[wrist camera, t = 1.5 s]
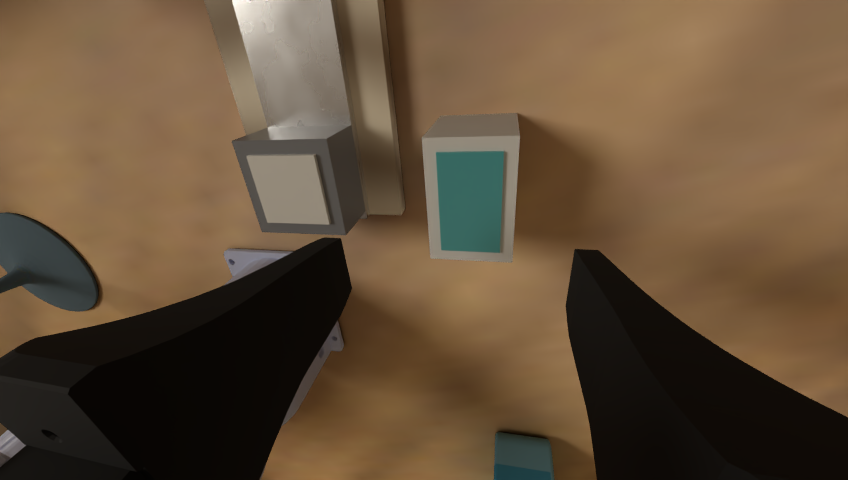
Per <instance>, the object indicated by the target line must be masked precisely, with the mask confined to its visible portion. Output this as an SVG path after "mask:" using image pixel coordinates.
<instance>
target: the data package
mask: <svg viewBox="0 0 848 480" xmlns="http://www.w3.org/2000/svg"><path fill="white" fill-rule="evenodd" d="M494 480H555V479H554V470H553V460H552V451H551V445H550V442H549V440H548V439H544V438H537V437H530V436H523V435H516V434H509V433H502V432H497V433H496V435H495V462H494Z"/></svg>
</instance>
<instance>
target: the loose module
mask: <svg viewBox="0 0 848 480" xmlns="http://www.w3.org/2000/svg"><path fill="white" fill-rule="evenodd" d="M519 144H520V131H519V124H518V116H517V113H501V114H474V115H447V116H440V117H439V118H438V119H437V121H436V122H435V123H434V124H433V125H432V126H431V128H430V129H429V130H428V131H427V132H426V134H425V135H424V136H423V137H422V148H423V162H424V176H425V190H426V203H427V217H428V231H429V245H430V258H432V259H452V260H472V261H492V262H512V258H513V242H514V226H515V209H516V193H517V177H518V161H519Z"/></svg>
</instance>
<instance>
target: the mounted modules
mask: <svg viewBox="0 0 848 480" xmlns="http://www.w3.org/2000/svg"><path fill="white" fill-rule="evenodd" d="M232 144H233V147H234V150H235V153H236V156H237V159H238V162H239V165H240V168H241V171H242V174H243V177H244V180H245V183H246V186H247V189H248V192H249V195H250V198H251V201H252V204H253V206H254V209H255V212H256V215H257V218H258V221H259V224H260V227H261V230H262V232H275V233H301V234H328V235H347V233H348V232H349V231H350V230H351V228H352V227H353V226H354V225H355V224H356V222H357V221H358V220H359V219H360V217H361V216H362V215H363V214H364V213H365V211H366V210H365V204H364V198H363V192H362V186H361V180H360V174H359V168H358V162H357V156H356V150H355V144H354V138H353V132H352V126H351V125H328V126H297V127H267V128H265V129H262V130H259V131H257V132H254V133H251V134H249V135H246V136H243V137H241V138H238V139H235V140H233V141H232Z"/></svg>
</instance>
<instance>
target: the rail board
mask: <svg viewBox="0 0 848 480" xmlns="http://www.w3.org/2000/svg"><path fill="white" fill-rule="evenodd" d="M204 2H205V5H206V8H207V12H208V15H209V18H210V21H211V24H212V28H213V31H214V34H215V37H216V40H217V44H218V47H219V50H220V53H221V56H222V60H223V63H224V66H225V69H226V73H227V76H228V79H229V82H230V85H231V89H232V92H233V95H234V98H235V101H236V105H237V108H238V111H239V114H240V117H241V121H242V124H243V127H244V130H245V133H246V135H249V134H251V133H254V132H257V131H259V130H262V129H265V128H267V124H266V120H265V117H264V113H263V109H262V106H261V102H260V99H259V95H258V92H257V88H256V84H255V81H254V77H253V74H252V70H251V67H250V63H249V59H248V56H247V52H246V49H245V45H244V41H243V38H242V34H241V31H240V27H239V24H238V20H237V16H236V13H235V9H234V6H233V2H232V0H204ZM336 4H337V10H338V16H339V22H340V29H341V35H342V41H343V47H344V54H345V60H346V66H347V72H348V79H349V85H350V91H351V98H352V104H353V110H354V116H355V123H356V129H357V135H358V141H359V148H360V154H361V160H362V166H363V173H364V179H365V185H366V191H367V198H368V204H369V210H370V214H372V215H402V213H403V212H404V210H405V199H404V190H403V180H402V171H401V161H400V152H399V142H398V133H397V123H396V114H395V104H394V94H393V85H392V75H391V66H390V56H389V47H388V37H387V28H386V18H385V9H384V0H336Z"/></svg>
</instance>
